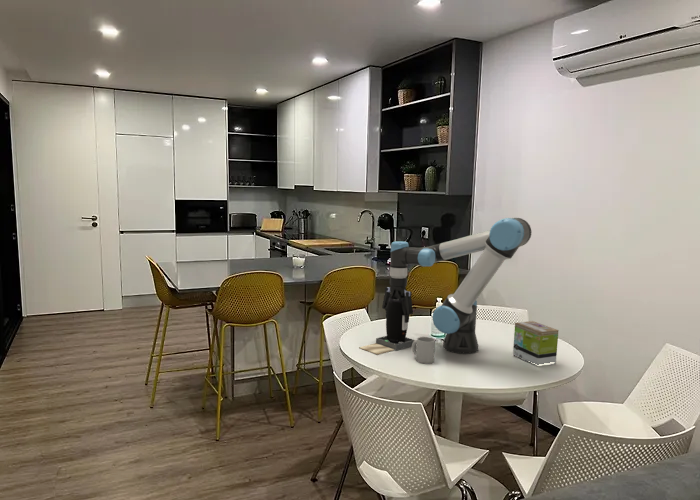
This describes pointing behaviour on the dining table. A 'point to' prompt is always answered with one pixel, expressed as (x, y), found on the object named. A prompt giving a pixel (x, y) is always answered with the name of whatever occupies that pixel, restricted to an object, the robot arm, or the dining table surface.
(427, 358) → the cup
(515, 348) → the tea box
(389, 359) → the dining table surface
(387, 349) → the birch board
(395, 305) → the portable speaker
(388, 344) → the tray
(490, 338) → the dining table surface
